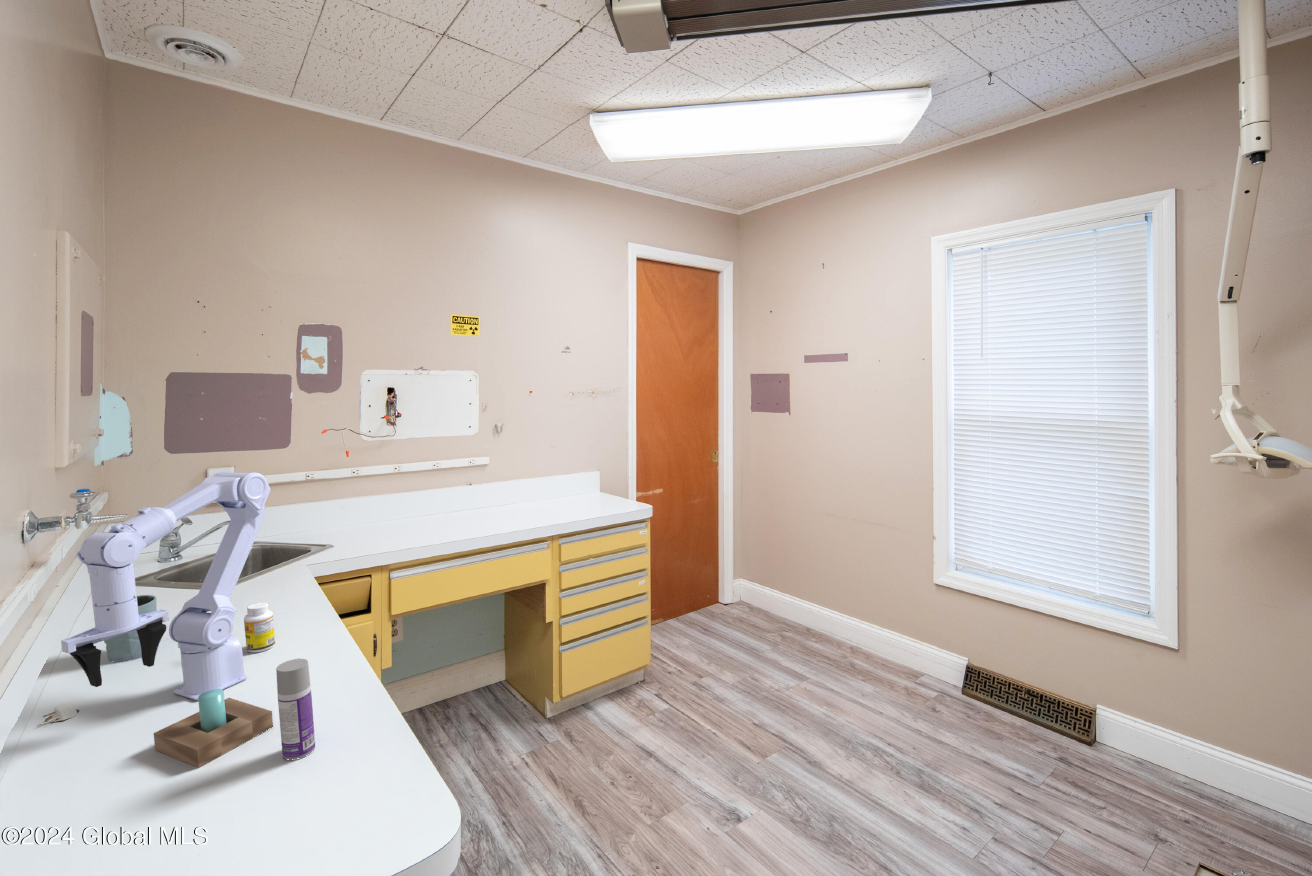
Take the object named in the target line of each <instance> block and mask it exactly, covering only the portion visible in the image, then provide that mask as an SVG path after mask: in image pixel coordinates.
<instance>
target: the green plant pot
mask: <svg viewBox="0 0 1312 876" xmlns="http://www.w3.org/2000/svg"><path fill="white" fill-rule="evenodd" d="M137 604H138V613H139V615H141V614H145V613H150V612H154V611H158V610H157V596H155V595H151V594H140V595H137ZM103 642H104V644H105V650H106V655H107V658H108V661H109V660H110V661H109V662H111V661H114V662H113V663H122V662H123V661H124V662H129V660H130V661H134V660H138V659H142V653H141V645H140V640H139V637H138V633H137V631H136V630H135V631H132V632H129V633H126V634H122V635H119V636H116V637H113V638H110V639H107V640H104V641H103Z"/></svg>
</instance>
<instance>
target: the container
mask: <svg viewBox="0 0 1312 876" xmlns="http://www.w3.org/2000/svg"><path fill="white" fill-rule="evenodd" d="M275 670H276V689H277V706H278V717H279V728H280V740H281V741H280V742H281V751H282V753H281V754H282V758H283V759H284V758H285V759H289V760H288V761H293V760H292V759H297V758H301V759H303V758H302V757H304V756H306V755H308V754H309V755H310V753H311V752H312V751H313V752H314V751H315V750H316V739H315V738H316V737H315V736H316V734H315V726H314V725H315V724H314V710H313V709H314V708H313V700H312V699H313V697H312V686H311V677H310V669H309V660H307V659H305V658H293V659H289V660H287V661H284V662H282V663H280V664H278V665H277V667H276V669H275ZM314 749H315V750H314ZM313 752H312V753H313ZM312 753H311V754H312ZM309 755H308V756H309ZM306 757H307V756H306ZM304 758H305V757H304ZM285 759H284V760H285ZM297 760H298V759H297Z"/></svg>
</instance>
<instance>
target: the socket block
mask: <svg viewBox="0 0 1312 876" xmlns="http://www.w3.org/2000/svg"><path fill="white" fill-rule="evenodd" d="M224 701H225V712H226V724H225V725H223V726H221V727H219V728H217V729H215V730H213V731H211V732H209V733H206V732H203V731H201V722H200V712H199V711H197V712H196V713H193V714H191V715H189V716H187V717H185V718H182V719H181V720H178V721H176V722H175V723H172V724H170V725H168V726H165V727H164V728H161V729H159V730H158V731H155V732H153V741H154V742H153V743H154V750H155V751H156V752H159V753H162V754H164V755H166V756H169V757H172V758H174V759H177V760H179V761H182V762H184V763H186V764H189V765H192V766H193V767H196V768H201V767H203V766H205V765H207V764H209V763H211V762H212V761H214V760H216V759H218V758H219V757H221V755H222V754H223V755H225V754H227V753H229V752H230V750H231V749H232V750H234V749H235V748H234V747H236V748H238V747H239V746H238V745H240V744H242V743H243V744H245V743H247V742H248V740H249V741H251V740H253V739H254V738H256V737H258V736H259V735H258V734H260V733H262V732H264V731H265V732H267V731H269V730H270V729H269V728H271V729H272V727H273V728H274V722H273V721H274V720H273V711H272V710H270V709H266V708H263V707H260V706H257V705H254V704H250V703H248V702H245V701H242V700H239V699H235V698H232V697H227V698H226V699H225V698H224ZM268 729H269V730H268ZM266 730H267V731H266ZM265 732H264V733H265ZM262 734H263V733H262ZM257 735H258V736H257ZM260 735H261V734H260ZM253 737H254V738H253ZM252 738H253V739H252ZM250 739H251V740H250ZM246 741H247V742H246ZM244 742H245V743H244ZM243 744H242V745H243ZM237 746H238V747H237ZM240 746H241V745H240ZM233 748H234V749H233ZM232 750H231V751H232ZM228 751H229V752H228ZM226 752H227V753H226ZM223 755H222V756H223Z"/></svg>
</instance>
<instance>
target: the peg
mask: <svg viewBox="0 0 1312 876" xmlns="http://www.w3.org/2000/svg"><path fill="white" fill-rule="evenodd" d="M224 693H225V692H224V689H223V690H222V689H214V690H210V691H207V692H204V693H202V694H201V695H200V696H199V697H198V700H197V701H198V710H199V711H198V712H200V722H201V731H203V732H206V733H209V732H211V731H213V730H215V729H217V728H219V727H221V726H223V725H225V724H226V712H225V701H224V700H225V694H224Z"/></svg>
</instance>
